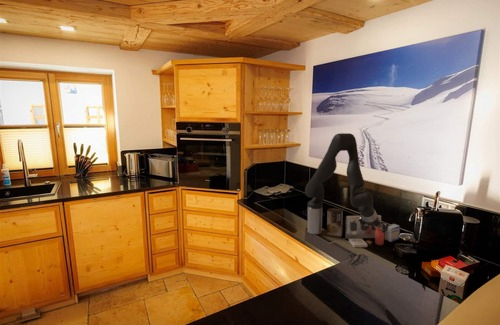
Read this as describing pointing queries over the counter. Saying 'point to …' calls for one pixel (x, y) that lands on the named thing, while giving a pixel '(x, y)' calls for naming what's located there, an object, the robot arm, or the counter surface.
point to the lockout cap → (379, 236)
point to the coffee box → (334, 222)
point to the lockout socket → (358, 242)
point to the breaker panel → (358, 228)
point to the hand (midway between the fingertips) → (376, 229)
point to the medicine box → (392, 232)
